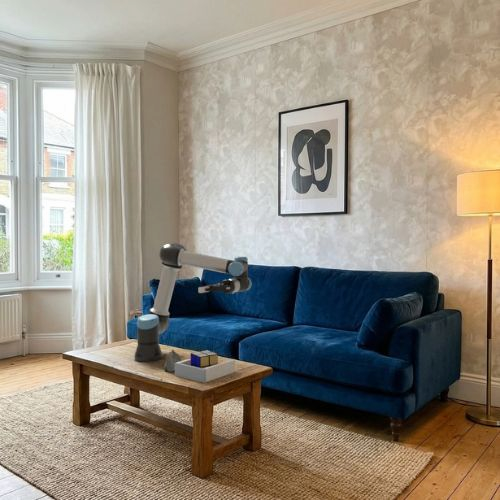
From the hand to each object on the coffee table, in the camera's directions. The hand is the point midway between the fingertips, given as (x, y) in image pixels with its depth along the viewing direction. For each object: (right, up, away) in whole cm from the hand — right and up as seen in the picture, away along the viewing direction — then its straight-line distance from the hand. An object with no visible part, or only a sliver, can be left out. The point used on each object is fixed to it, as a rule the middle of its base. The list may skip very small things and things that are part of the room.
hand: (199, 290), depth 247 cm
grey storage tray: (+4, -40, -8) cm, 41 cm away
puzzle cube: (+3, -41, -8) cm, 41 cm away
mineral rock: (-13, -40, +1) cm, 42 cm away
